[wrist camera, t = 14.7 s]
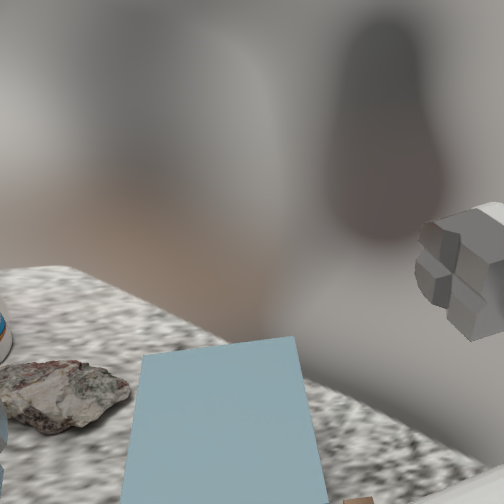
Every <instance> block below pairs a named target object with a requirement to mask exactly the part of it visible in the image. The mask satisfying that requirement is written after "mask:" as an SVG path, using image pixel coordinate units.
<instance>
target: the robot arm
mask: <svg viewBox="0 0 504 504" xmlns="http://www.w3.org/2000/svg"><path fill="white" fill-rule="evenodd" d="M418 242H419V243H420V244H421V246H422V247H423V248H424V249H423V250H422V252H421V253H420V255H419V256H418V258H417V259H416V264H415V276H416V280H417V283H418V287H419V288H420V290H421V292H422V293H423V295H424V296H425V297H426V298H427V299H428V301H429V302H431V304H433V305H436V306H439V307H442V308H445V309H446V314H447V319H448V320H449V321H450V322H451V323H452V324H453V325H454V326H455V327H456V328H457V329H458V330H459V331H460V332H461V333H462V334H463V335H464V336H465V337H466V338H467V339H468V340H469V341H470V342H472V341H475V340H478V339H481V338H484V337H487V336H490V335H493V334H496V333H500V332H503V331H504V204H502V203H498V202H489V203H486V204H483V205H480V206H477V207H474V208H471V209H469V210H467V211H463V212H459V213H456V214H453V215H449V216H446V217H442V218H439V219H436V220H433V221H429V222H426V223H424V224H423V226H422V227H421V229H420V232H419V239H418ZM7 438H8V422H7V414H6V410H5V407H4V405H3V402H2V399H1V398H0V453H1V452H2V450H3V449H4V448H5V446H6V445H7ZM3 473H4V469H3V467H2V466H1V465H0V496H1V489H2V481H3ZM409 504H504V463H503V464H501V465H499V466H496V467H494V468H492V469H489V470H487V471H484V472H482V473H480V474H477V475H475V476H473V477H470V478H468V479H466V480H463V481H461V482H458V483H456V484H454V485H451V486H449V487H447V488H444V489H442V490H439V491H437V492H435V493H432V494H430V495H428V496H425V497H423V498H421V499H418V500H416V501H413V502H411V503H409Z"/></svg>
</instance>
